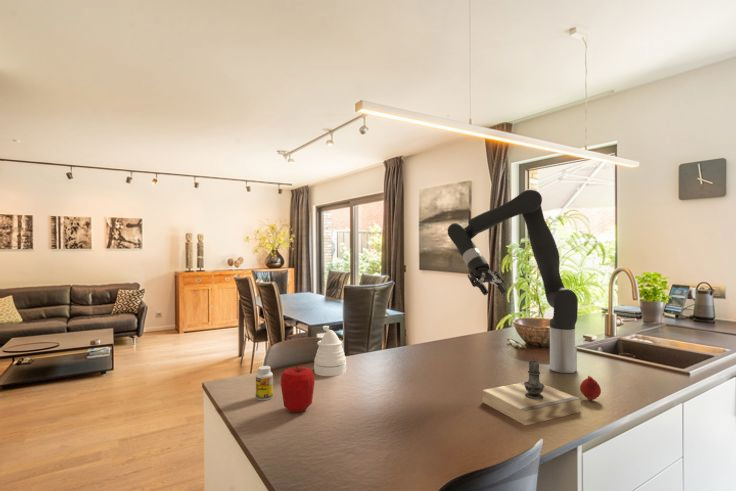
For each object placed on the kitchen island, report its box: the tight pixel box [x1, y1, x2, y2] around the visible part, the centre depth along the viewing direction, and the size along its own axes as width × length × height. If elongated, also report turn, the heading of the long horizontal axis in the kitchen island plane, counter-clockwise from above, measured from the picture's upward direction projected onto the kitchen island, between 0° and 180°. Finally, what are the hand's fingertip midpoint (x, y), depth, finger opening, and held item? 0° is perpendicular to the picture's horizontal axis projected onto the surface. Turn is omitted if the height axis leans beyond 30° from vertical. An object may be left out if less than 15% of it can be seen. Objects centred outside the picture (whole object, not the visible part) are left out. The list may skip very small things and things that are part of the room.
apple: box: [280, 366, 315, 413], centre depth 123 cm, size 10×10×14 cm
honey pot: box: [313, 325, 347, 377], centre depth 160 cm, size 13×13×18 cm
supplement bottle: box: [255, 365, 274, 401], centre depth 132 cm, size 6×6×10 cm
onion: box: [579, 375, 602, 402], centre depth 129 cm, size 6×6×8 cm
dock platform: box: [482, 381, 581, 426], centre depth 124 cm, size 22×18×4 cm
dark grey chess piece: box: [524, 357, 545, 400], centre depth 122 cm, size 6×6×12 cm
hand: (495, 293), depth 149 cm, fingers open, 8 cm apart
